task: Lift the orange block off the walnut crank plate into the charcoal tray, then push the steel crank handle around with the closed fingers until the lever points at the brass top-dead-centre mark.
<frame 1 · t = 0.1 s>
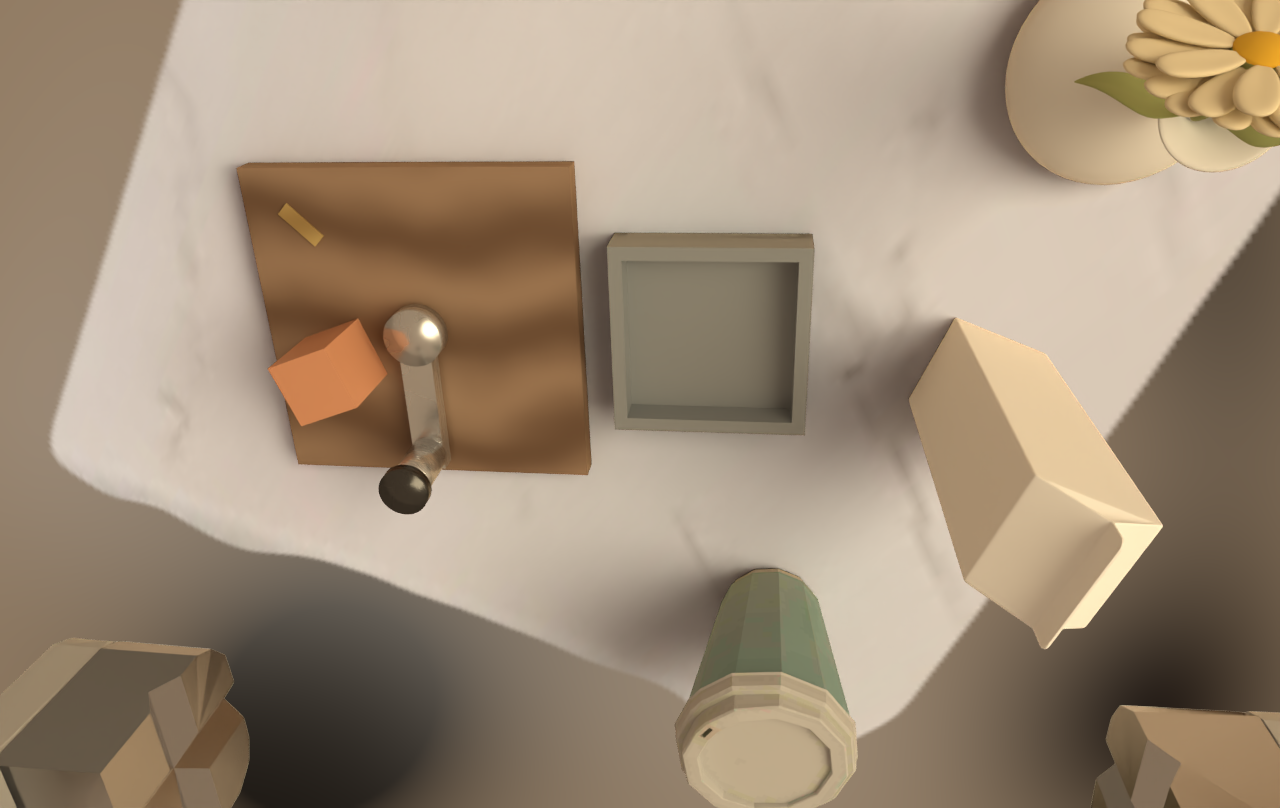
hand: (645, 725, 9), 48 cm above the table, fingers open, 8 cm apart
crank: (411, 408, 58), point 5 cm above the table, hinge at 0.0°
milk: (974, 375, 58), on the table
flower in vase: (1097, 61, 49), on the table
crank plate: (428, 320, 60), on the table
disposable coffee cup: (767, 604, 67), on the table
orange block: (346, 355, 60), point 1 cm above the table, touching crank plate
tray: (711, 325, 58), on the table
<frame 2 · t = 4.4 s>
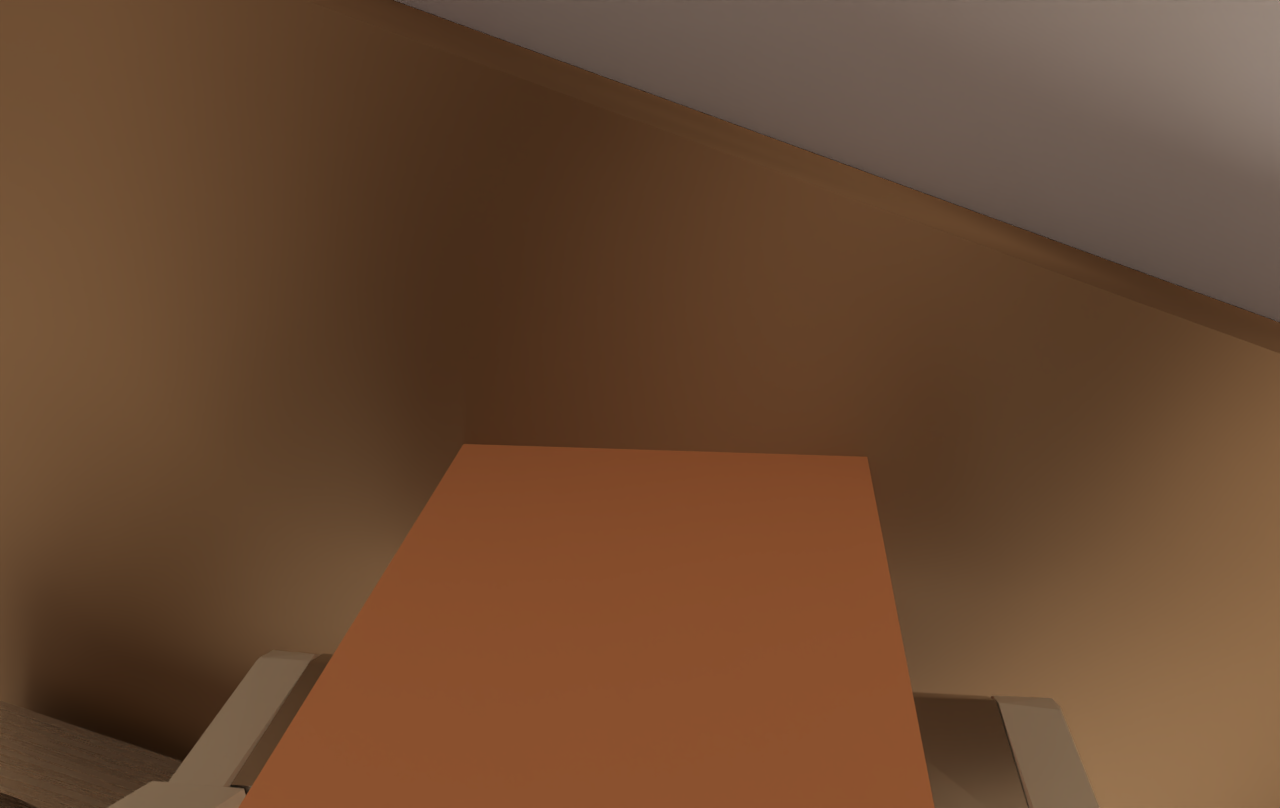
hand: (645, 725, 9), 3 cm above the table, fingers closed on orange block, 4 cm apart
orange block: (664, 613, 10), point 1 cm above the table, touching crank plate, gripper
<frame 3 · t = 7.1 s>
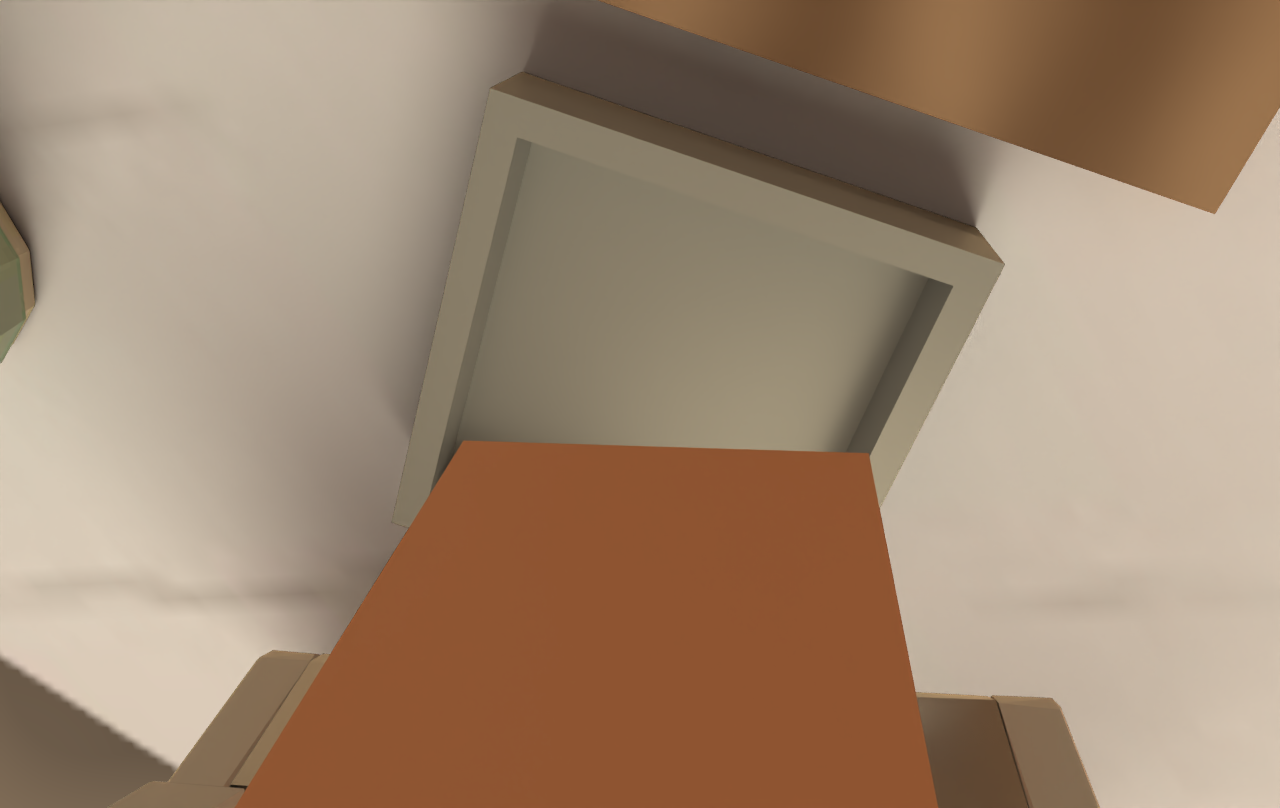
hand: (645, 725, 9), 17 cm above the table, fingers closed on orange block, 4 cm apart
orange block: (664, 611, 10), point 15 cm above the table, touching gripper
tray: (675, 358, 25), on the table
when the fingers open (5 cm above the table, at t = 10.1 s): orange block drops 2 cm, resting on tray.
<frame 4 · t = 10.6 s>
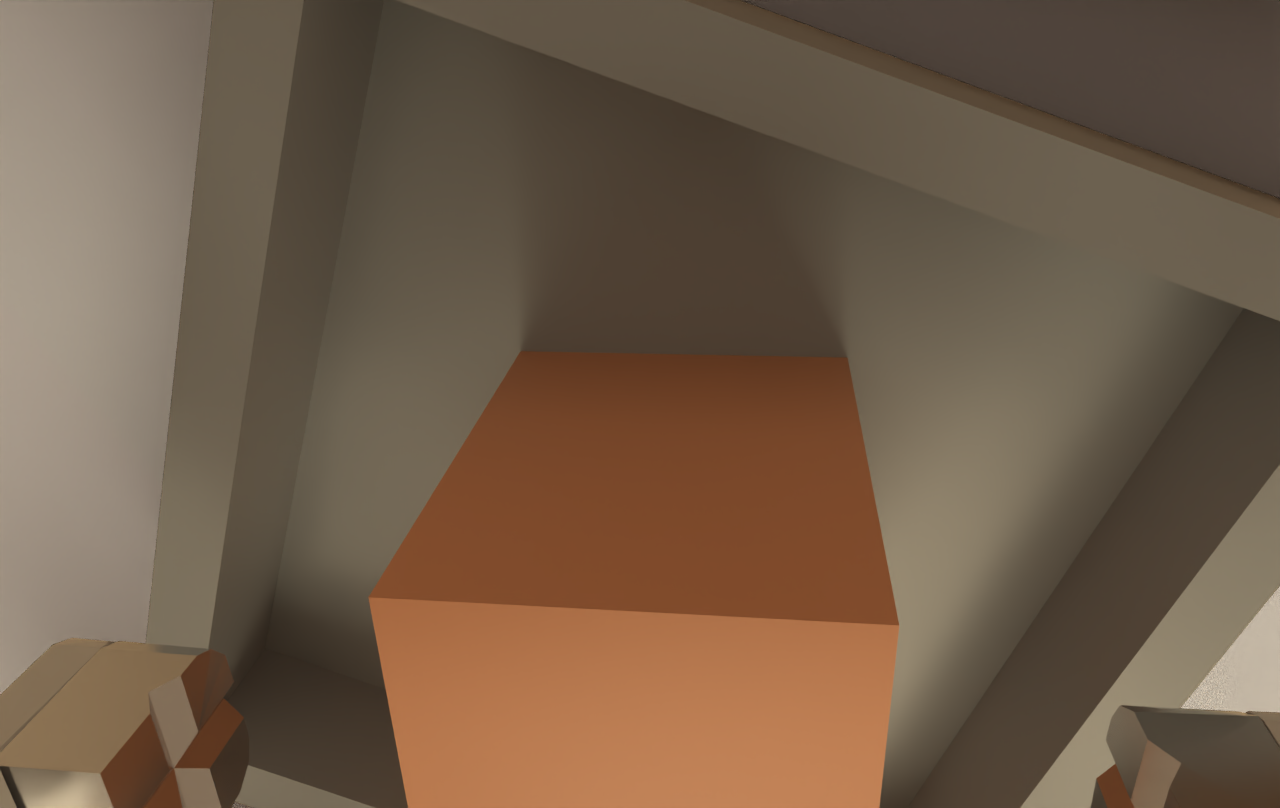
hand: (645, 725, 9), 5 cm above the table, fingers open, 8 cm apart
orange block: (682, 495, 12), point 1 cm above the table, touching tray
tray: (685, 459, 13), on the table
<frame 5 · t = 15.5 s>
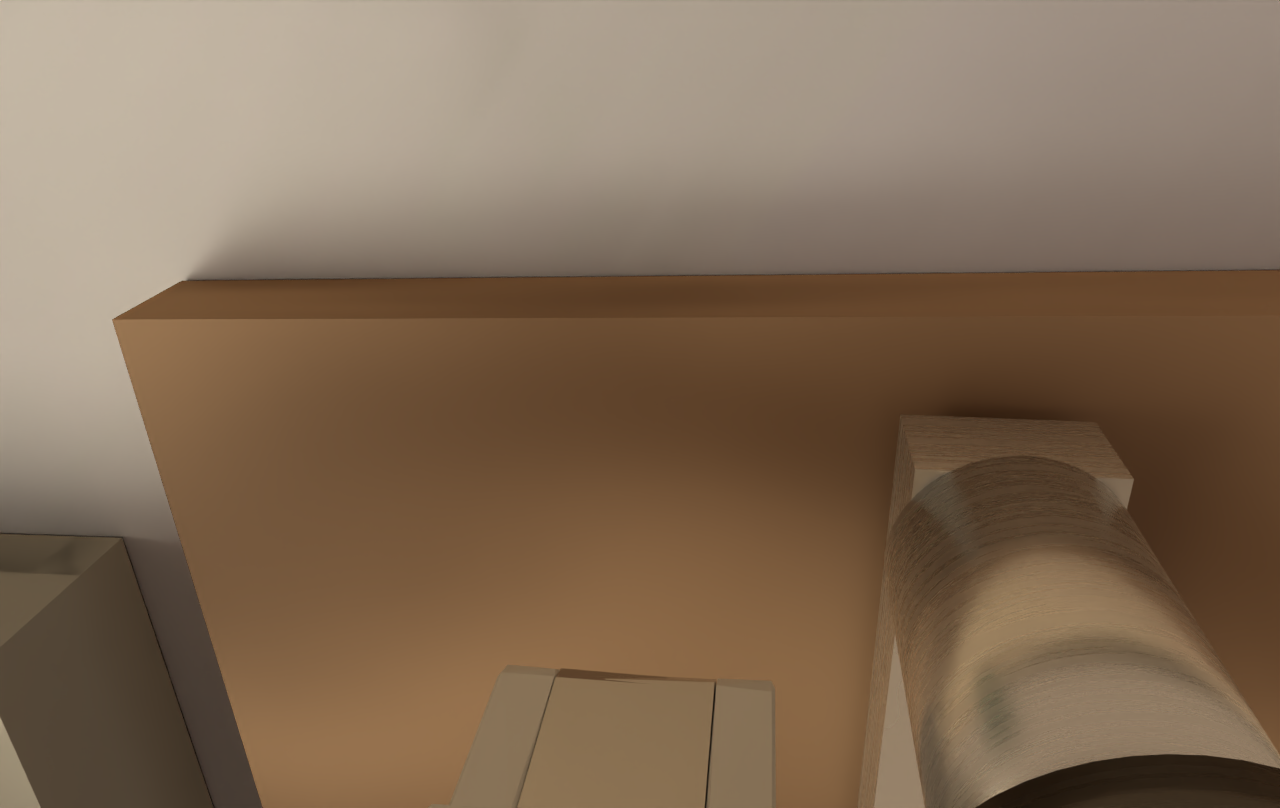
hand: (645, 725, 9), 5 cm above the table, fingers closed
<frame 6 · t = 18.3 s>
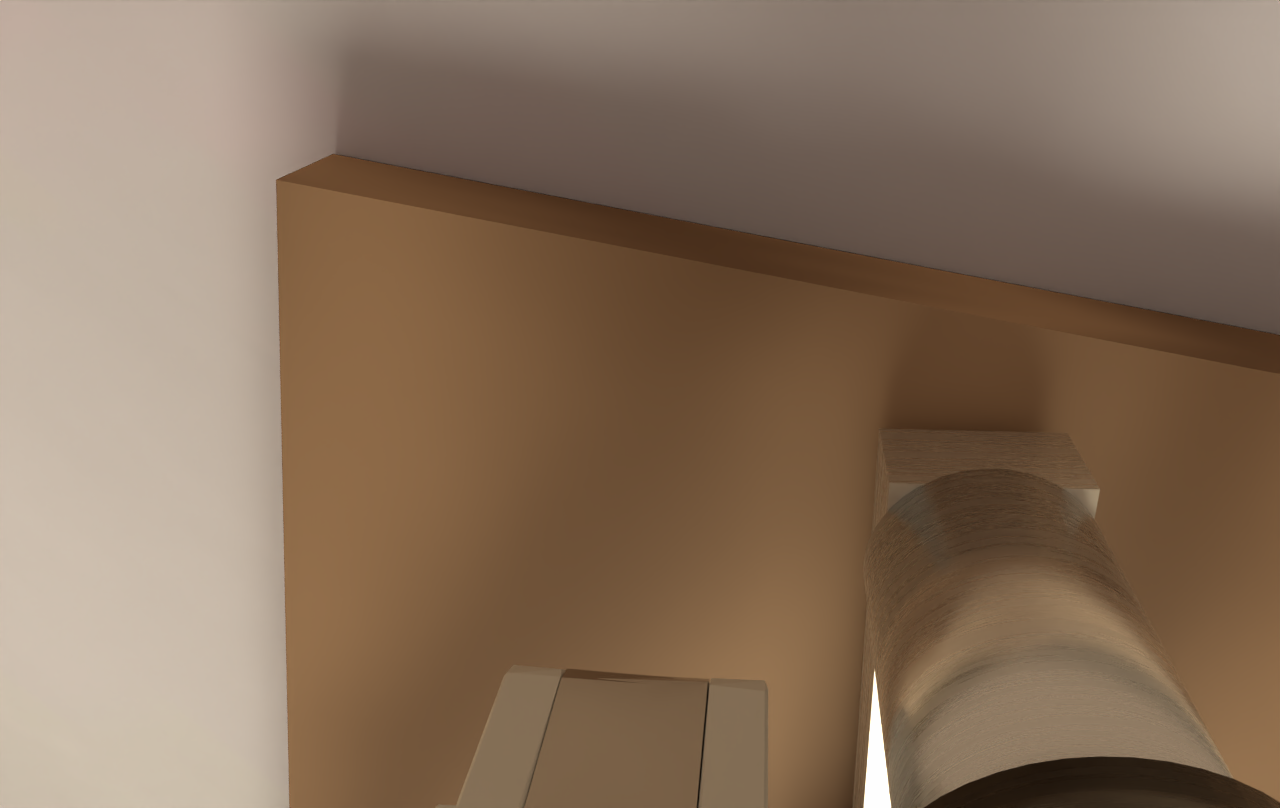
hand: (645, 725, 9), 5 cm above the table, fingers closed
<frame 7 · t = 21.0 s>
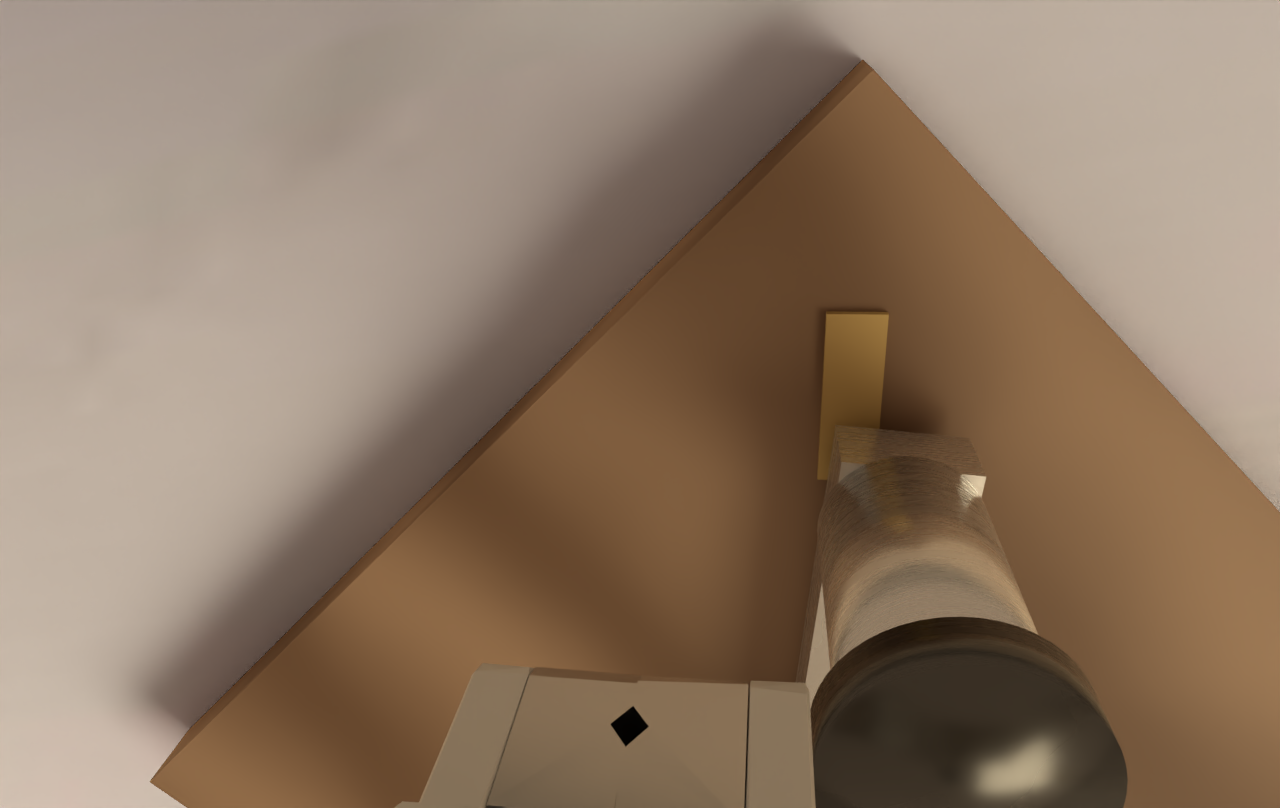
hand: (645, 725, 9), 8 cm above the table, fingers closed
crank plate: (817, 772, 20), on the table
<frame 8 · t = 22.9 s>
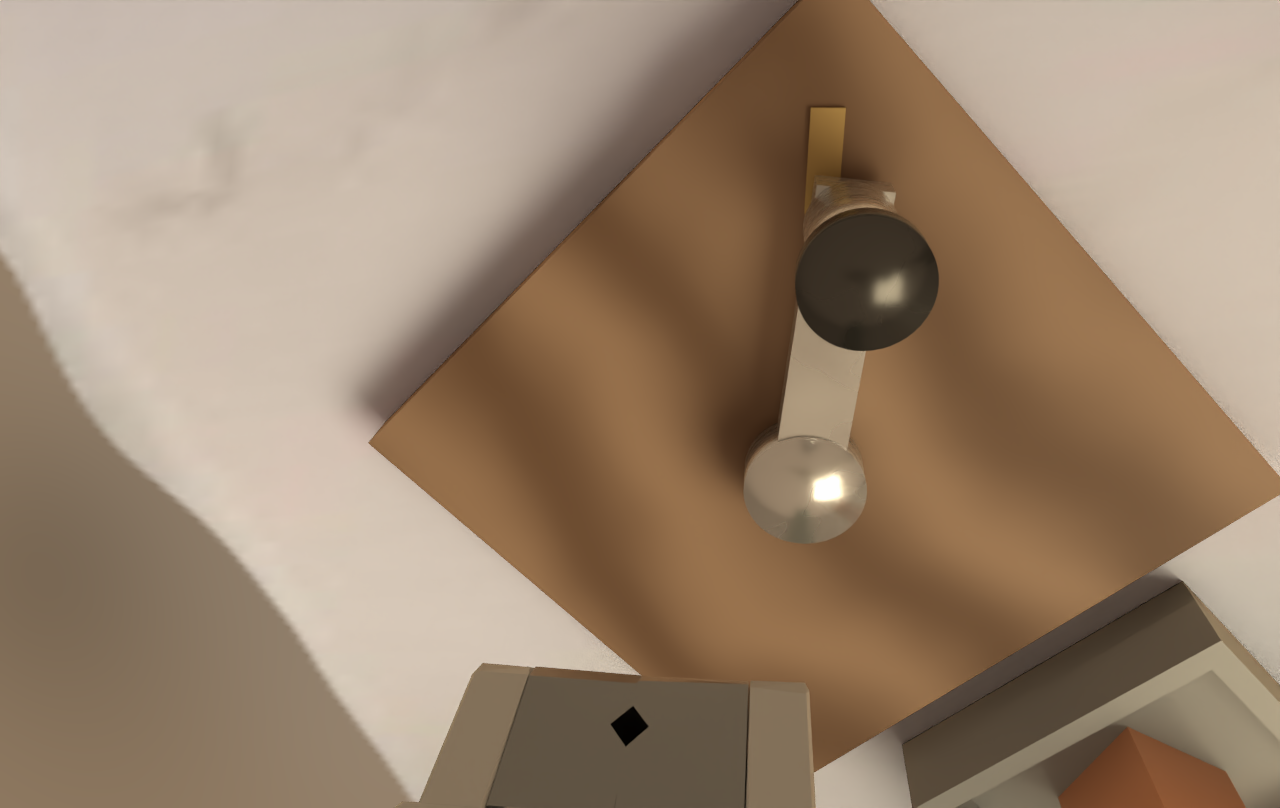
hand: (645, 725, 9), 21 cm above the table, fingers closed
crank: (828, 399, 25), point 5 cm above the table, hinge at -139.8°
crank plate: (801, 442, 31), on the table
orange block: (1140, 784, 34), point 1 cm above the table, touching tray
tray: (1130, 764, 35), on the table
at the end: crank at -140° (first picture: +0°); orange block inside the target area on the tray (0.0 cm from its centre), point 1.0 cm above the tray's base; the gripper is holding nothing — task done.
